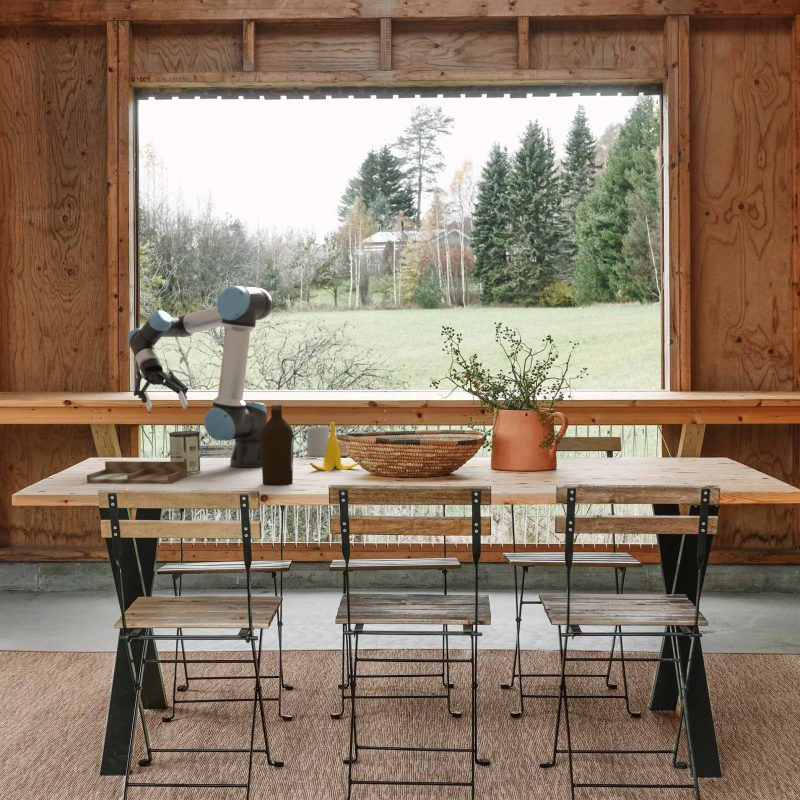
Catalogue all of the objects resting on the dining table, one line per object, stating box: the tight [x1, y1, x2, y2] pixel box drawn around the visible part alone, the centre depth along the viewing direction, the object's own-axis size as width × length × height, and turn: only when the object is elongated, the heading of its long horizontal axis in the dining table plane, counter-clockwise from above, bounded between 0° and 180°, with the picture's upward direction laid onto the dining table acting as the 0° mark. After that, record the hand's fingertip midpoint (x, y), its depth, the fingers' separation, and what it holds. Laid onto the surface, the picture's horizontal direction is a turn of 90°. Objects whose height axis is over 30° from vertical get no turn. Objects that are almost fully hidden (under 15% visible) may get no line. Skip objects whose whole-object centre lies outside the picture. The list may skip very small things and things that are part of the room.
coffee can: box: [168, 430, 202, 476], centre depth 339 cm, size 10×10×14 cm
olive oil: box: [260, 404, 295, 487], centre depth 311 cm, size 11×11×25 cm
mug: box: [306, 426, 330, 458], centre depth 386 cm, size 12×8×11 cm
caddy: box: [86, 460, 188, 484], centre depth 323 cm, size 28×16×5 cm, turn 84°
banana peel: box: [309, 421, 359, 472], centre depth 345 cm, size 17×19×17 cm
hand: (168, 407), depth 346 cm, fingers open, 13 cm apart
